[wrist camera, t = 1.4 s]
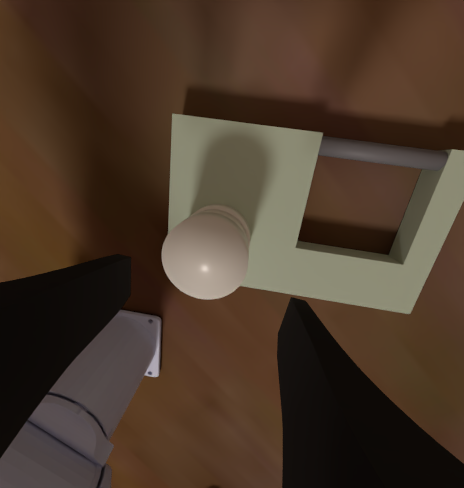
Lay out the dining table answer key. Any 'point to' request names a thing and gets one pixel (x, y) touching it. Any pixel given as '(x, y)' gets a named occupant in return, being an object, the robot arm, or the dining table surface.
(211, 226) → the white round knob
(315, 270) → the pale green panel
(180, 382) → the dining table surface
